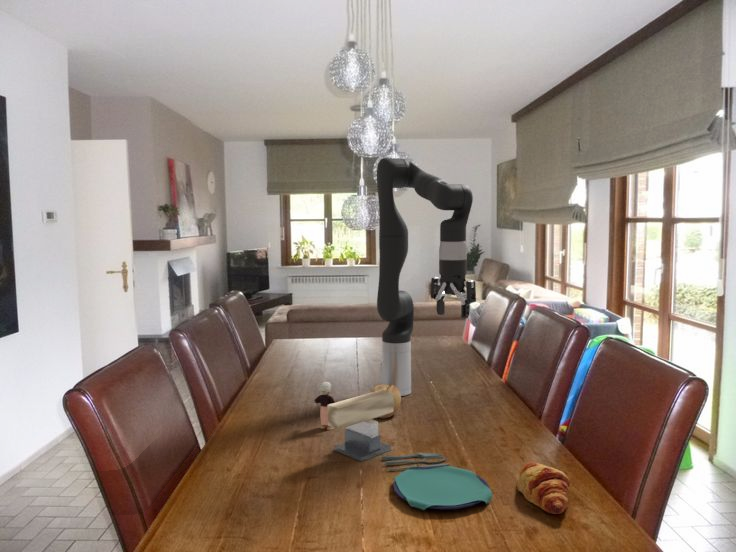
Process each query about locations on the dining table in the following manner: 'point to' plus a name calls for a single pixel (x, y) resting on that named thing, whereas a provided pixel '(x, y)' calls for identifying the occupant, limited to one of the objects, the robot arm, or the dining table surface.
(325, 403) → the grandmother figurine
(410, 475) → the cutlery set
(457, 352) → the dining table surface
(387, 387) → the bread roll
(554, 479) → the croissant
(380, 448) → the ridge stand
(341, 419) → the birch bar
